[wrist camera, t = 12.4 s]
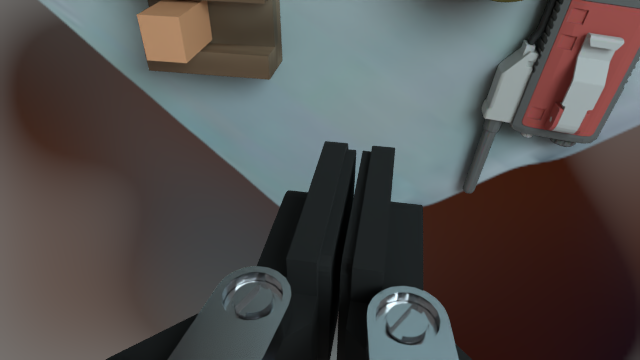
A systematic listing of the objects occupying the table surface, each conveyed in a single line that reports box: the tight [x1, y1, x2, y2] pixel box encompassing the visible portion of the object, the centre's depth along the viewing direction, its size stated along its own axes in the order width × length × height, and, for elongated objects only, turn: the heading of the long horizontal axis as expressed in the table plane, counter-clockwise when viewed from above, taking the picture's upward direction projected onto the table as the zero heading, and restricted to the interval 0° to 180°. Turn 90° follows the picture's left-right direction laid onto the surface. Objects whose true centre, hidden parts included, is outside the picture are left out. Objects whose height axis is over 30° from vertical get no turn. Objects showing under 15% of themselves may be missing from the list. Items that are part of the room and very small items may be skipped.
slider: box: [137, 0, 212, 63], centre depth 34 cm, size 3×3×5 cm
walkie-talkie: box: [463, 0, 640, 193], centre depth 35 cm, size 9×4×20 cm
